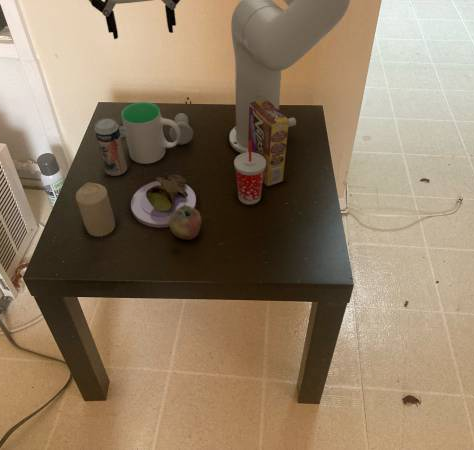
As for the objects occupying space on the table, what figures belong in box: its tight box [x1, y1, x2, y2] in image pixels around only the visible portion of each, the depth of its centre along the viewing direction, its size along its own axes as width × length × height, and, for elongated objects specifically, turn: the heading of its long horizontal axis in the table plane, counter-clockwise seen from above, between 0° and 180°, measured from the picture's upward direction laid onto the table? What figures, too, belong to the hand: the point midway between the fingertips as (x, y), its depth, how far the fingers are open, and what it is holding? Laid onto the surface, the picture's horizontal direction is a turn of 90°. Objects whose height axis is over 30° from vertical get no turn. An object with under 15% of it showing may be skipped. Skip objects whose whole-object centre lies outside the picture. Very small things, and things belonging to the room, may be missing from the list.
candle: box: [75, 181, 116, 238], centre depth 90 cm, size 6×6×10 cm
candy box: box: [248, 99, 290, 187], centre depth 99 cm, size 9×4×15 cm, turn 27°
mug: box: [120, 101, 181, 165], centre depth 105 cm, size 12×8×10 cm, turn 87°
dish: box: [130, 180, 197, 229], centre depth 97 cm, size 13×13×1 cm
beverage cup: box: [233, 140, 266, 205], centre depth 94 cm, size 6×6×14 cm
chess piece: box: [168, 112, 194, 146], centre depth 113 cm, size 5×5×9 cm
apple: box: [168, 206, 202, 241], centre depth 89 cm, size 6×8×6 cm
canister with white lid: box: [94, 117, 128, 176], centre depth 101 cm, size 5×5×12 cm
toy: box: [146, 174, 188, 211], centre depth 97 cm, size 7×5×10 cm
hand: (143, 32), depth 86 cm, fingers open, 9 cm apart
